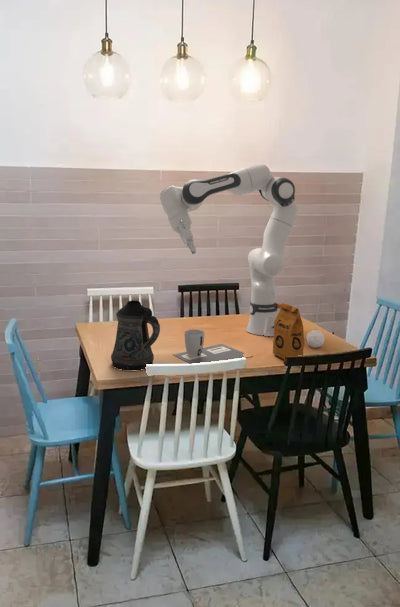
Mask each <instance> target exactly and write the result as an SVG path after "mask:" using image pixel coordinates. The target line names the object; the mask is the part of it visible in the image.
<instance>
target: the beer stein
mask: <svg viewBox="0 0 400 607" xmlns="http://www.w3.org/2000/svg"><path fill="white" fill-rule="evenodd" d="M115 317H116V319H117V328H116V336H115V341H114V347H113V351H112V352H111V356H110V360H111V364H112V367H113V366H114V367H116V368H118V369H122V370H121V371H123V370H140V371H142V370H141V369H144V370H146V369H145V367H146V364H152V365H153V363H154V359H155V358H154V357H155V354H154V353H153V350H152V349H153V348H152V345H154V343H155V342H156V341H157V339H158V338H159V336H160V332H161V324H160V323H159V320H158V319H157V317H155V316H154V315H153V311H152V309H151V308H150V307H145V306H144V305H142V303H141V301H139V300H129V301H127V303H126V304H125V305H124V306H122V307H121V308H120V309H118V310H117V312H116V314H115ZM148 324H149V325H151V327H152V333H151V336H150V335H149V334H150V333H149V327H148V326H149V325H148ZM114 367H113V368H114ZM116 368H115V369H116ZM118 369H117V370H118Z"/></svg>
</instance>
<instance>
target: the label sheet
mask: <svg viewBox="0 0 400 607" xmlns="http://www.w3.org/2000/svg"><path fill="white" fill-rule="evenodd" d="M244 353H245V352H243V351H241V350H238V349H235V348H233V347H231V346H228V345H226V344H223V343H220V344H215V345H210V346H205V347H203V349H202V353H201V355H200V357H197V358H191V357H189V356H188V354H187V351H183V352H180V353H179V352H178V353H174V354H172V356H174V357H175V358H178V359H180V360H182V361H184V362H186V363H188V364H190V363H200V362H211V361H219V360H228V359H234V358H242V357H244V356H243V354H244Z"/></svg>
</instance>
